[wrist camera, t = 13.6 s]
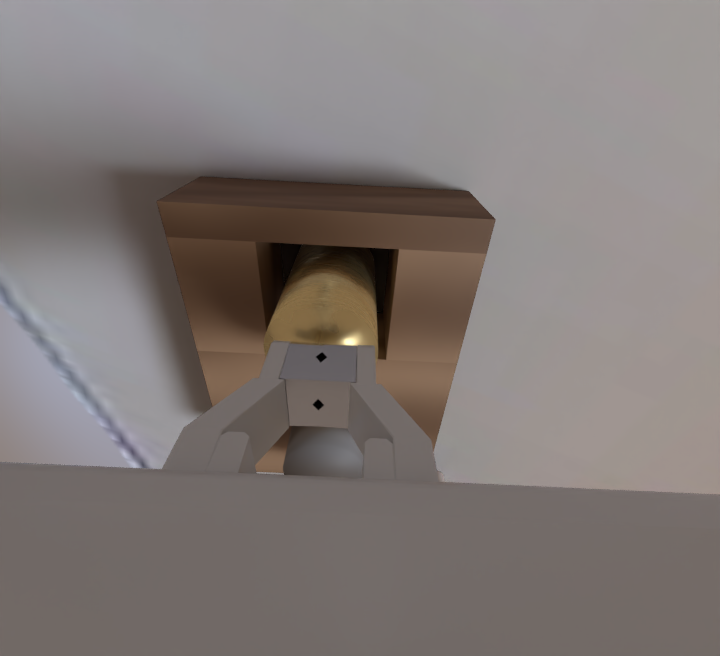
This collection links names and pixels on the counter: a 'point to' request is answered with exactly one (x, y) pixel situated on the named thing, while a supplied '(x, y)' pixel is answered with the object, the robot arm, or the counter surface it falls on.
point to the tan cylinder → (328, 299)
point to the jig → (332, 228)
